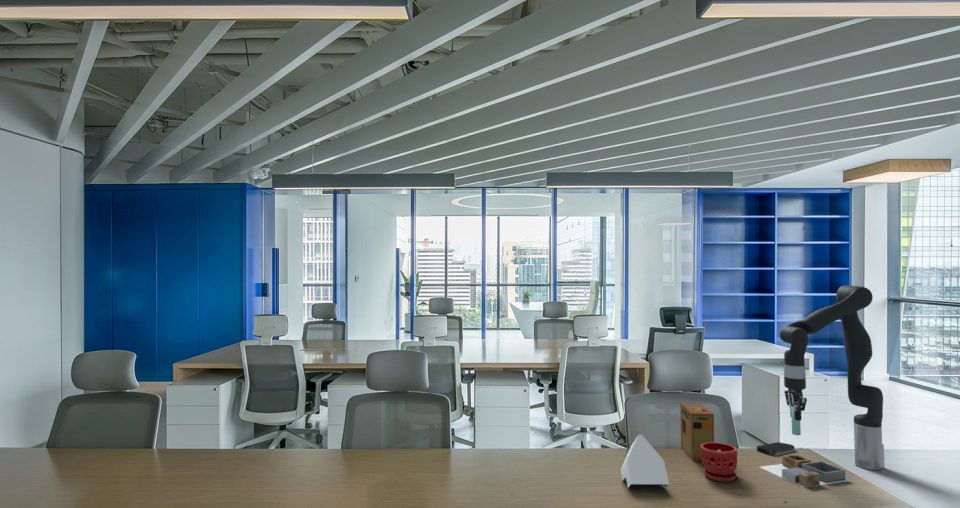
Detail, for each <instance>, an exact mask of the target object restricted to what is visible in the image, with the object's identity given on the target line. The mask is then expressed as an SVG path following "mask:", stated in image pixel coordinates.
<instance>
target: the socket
mask: <svg viewBox="0 0 960 508" xmlns="http://www.w3.org/2000/svg"><path fill="white" fill-rule="evenodd" d="M781 459H782V464H783V466H785V467H787V468H798V467H799V468H801V469H802V466H801V464H802V463H810V462H812V459H809V458H806V457H804V456H802V455H799V454H797V453H793V454H786V455H782V457H781Z"/></svg>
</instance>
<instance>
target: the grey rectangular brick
mask: <svg viewBox="0 0 960 508" xmlns="http://www.w3.org/2000/svg"><path fill="white" fill-rule="evenodd" d="M807 472H808V471H806V470H803V469H801V468H799V467H798V468H789V469H782V479H784V478H785V479H784V480H786V479H787V480H786V481H788V480H789V481H788V482H790V481H791V483H792V482H793V484H794V483H799V473H807Z"/></svg>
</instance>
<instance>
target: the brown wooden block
mask: <svg viewBox="0 0 960 508" xmlns="http://www.w3.org/2000/svg"><path fill="white" fill-rule="evenodd" d="M799 484H800V485H802V486H804V487H803V488H809V487H808V486H810V487H817V486H816V485H818V486H821V485H820V474H818V473H816V472H807V473H799Z"/></svg>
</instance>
